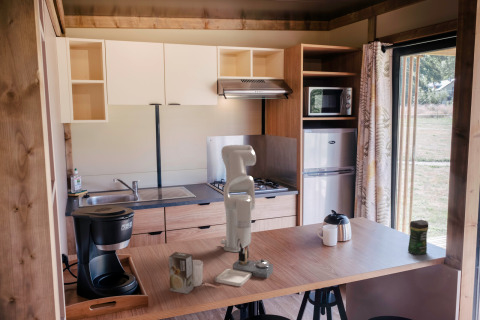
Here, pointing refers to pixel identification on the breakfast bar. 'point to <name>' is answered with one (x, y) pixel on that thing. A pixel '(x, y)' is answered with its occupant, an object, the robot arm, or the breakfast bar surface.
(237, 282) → the tray
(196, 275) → the white cup
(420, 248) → the coffee jar
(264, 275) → the block
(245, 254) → the lock pin
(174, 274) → the coffee box
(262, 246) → the breakfast bar surface
